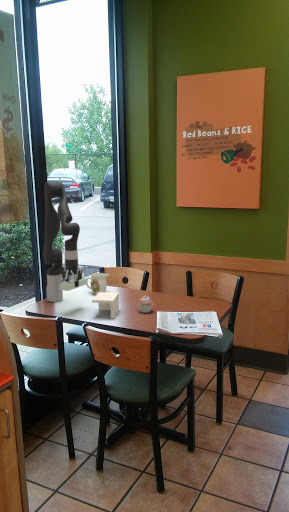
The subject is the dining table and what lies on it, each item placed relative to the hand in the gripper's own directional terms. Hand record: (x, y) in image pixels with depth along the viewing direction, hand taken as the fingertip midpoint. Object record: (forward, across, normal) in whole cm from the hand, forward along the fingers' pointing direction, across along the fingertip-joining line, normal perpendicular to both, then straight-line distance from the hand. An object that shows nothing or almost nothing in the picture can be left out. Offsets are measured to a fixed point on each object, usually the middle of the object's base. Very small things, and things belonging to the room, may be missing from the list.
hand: (72, 286), depth 239 cm
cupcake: (+16, +36, +22) cm, 45 cm away
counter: (+16, +19, +7) cm, 25 cm away
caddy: (+1, 0, +2) cm, 2 cm away
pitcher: (+16, -11, +39) cm, 43 cm away
